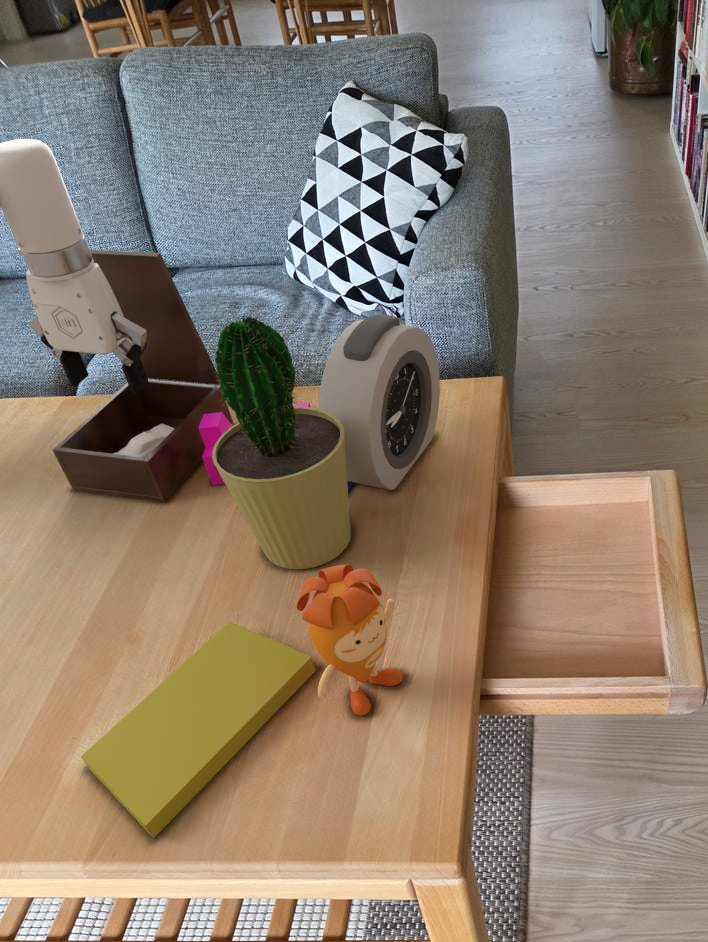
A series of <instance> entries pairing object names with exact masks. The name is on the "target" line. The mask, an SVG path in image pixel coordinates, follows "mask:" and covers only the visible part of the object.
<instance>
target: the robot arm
mask: <svg viewBox="0 0 708 942" xmlns="http://www.w3.org/2000/svg"><path fill="white" fill-rule="evenodd" d="M0 208H1V209H2V212H3V214H4V216H5V218H6V221H7V223H8V226H9V228H10V230H11V233H12V234H13V237H14V239H15V241H16V244H17V252H18V254H19V255H20V257H22V258H23V260H24V262H25V265H26V267H27V270H26V272H25V277H26V283H27V287H28V292H29V295H30V298H31V301H32V305H33V308H34V310H35V313H36V317H35V318H33V319H32V320H30V321H29V326H30V327H31V329H32V330H33V331H34V332H35V333H36V335H37V336H38V337H40V341H41V342H42V343H43V345H45V346H46V347H48V348H49V349H50V350H51V352H52V353H51V354H52V355H53V356H54V357H55V358H56V359H59V362H60V364H61V367H62V369H63V370H64V373H65V375H66V377H67V380H68V382H69V384H70V386H71V387H77V386H78V385H79V384H80V383H82V382H83V381H84V380H85V379H86V378H88V377H89V372H88V369H87V367H86V364H85V362H84V360H83V357H82V355H81V353H82V354H93V355H104V356H105V355H110V354H113V355H115V357H116V358H117V359H119V360H120V362H121V361H122V362H123V363H124V365H123V364H122V366H121V370H122V372H123V375H124V377H125V380H126V383H128V385H129V388H130V390H131V392H132V393H138V392H139V391H140V390H141V389H142V388H144V387H145V386H146V385H147V384H148V379H149V378H147V376H146V373H145V370H144V368H143V365H142V362H141V359H140V357H141V356H142V355H143V352H144V350H145V349H146V339H147V331H146V330H145V329H144V328H142V327H141V326H139V325H137V324H135V323H133V322H132V321H130V320H128V319H126V318H125V317H124V315H123V313H122V310H121V308H120V306H119V303H118V301H117V299H116V297H115V295H114V293H113V291H112V289H111V287H110V285H109V283H108V281H107V279H106V277H105V275H104V274H103V272H102V270H101V269H100V267H99V265H98V264H96V263H94V260H93V257H92V255H91V252H90V250H91V249H90V247H89V244H88V242H87V239H86V237H85V234H84V232H83V228H82V226H81V223H80V221H79V218H78V215H77V212H76V210H75V208H74V204H73V202H72V199H71V197H70V194H69V191H68V189H67V185H66V183H65V181H64V179H63V176H62V173H61V171H60V168H59V165H58V162H57V159H56V158H55V156H54V153H53V150H52V149H51V148H50V147H49V146H48V145H47V144H46V143H45V142H43V141H41V140H39V139H34V138H19V139H12V140H7V141H4V142H0ZM129 336H131V338H132V341H131V340H130V339H129ZM116 340H117V341H116ZM121 345H123V346H125V347H126V348H127V349H128V350H129V351H128V353H126V352H125V351H124V350H123V349H122V348H121V347H119V346H121ZM122 362H121V363H122Z"/></svg>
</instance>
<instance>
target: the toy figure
mask: <svg viewBox="0 0 708 942" xmlns="http://www.w3.org/2000/svg"><path fill="white" fill-rule="evenodd" d="M366 583H367V584H368V585H369V586H368V585H367V584H366ZM314 591H315V592H314ZM311 592H314V594H313V596H312V599H311V601H310V602H309V599H310V596H311ZM382 595H383V590H382V588H381V586H380V585H379V583H378V581H377V580H376V578H375V577H374V576H373V574H372V573H371V572H370V571H369V570H368V569H366V568H364V567H363V568H362V567H361V568H357V569H354V567H353V566H352V565H351V564H340V565H339V564H338V565H333V566H329V567H326V568H325V567H324V568H322V569H320V570H319V571H318V576H317V577H316V576H313V577H308V578H306V579H305V581H304V582H303V584H302V586H301V589H300V591H299V593H298V597H297V600H296V605H295V606H296V609H297V611H299V612H303V613H302V616H301V618H302V620H303V621H304V622H306V623H307V624H308V631H309V636H310V639H311V642H312V644H313V646H314V648H315V649H316V651H317V653H318V655H319V656H320V657H321V658H322V659H323V661H324V662H325V663H327V666H326V668H325V669H324V671H323V673H322V675H321V676H320V679H319V682H318V686H317V696H318V697H319V698H321V699H323V698H325V697H326V696H327V687H328V683H329V680H330V677H331V676H332V673H333V672H334V671H335V670H337V671H339V672H341V673H343V674H345V675H347V676H348V682H349V688H350V689H349V690H350V692H349V696H350V698H349V699H350V707H351V710H352V712H353V713H354V715H357V716H360V717H361V716H365V715H367V714H368V713H370V711H371V709H372V706H371V701H370V700H369V698H368V697H367V695H366V694H365V693H364V692H363V690H362V689H361V688H360V686H359V683H360V684H365V683H366V682H367V681H369V683H371V684H373V685H380V686H388V687H391V686H392V687H393V686H397V685H399V684H400V683H402V682H403V679H404V674H403V673H402V671H401V670H400V669H398V668H395V667H387V668H384V669H381V670H378V668H377V665H376V664H377V662H378V661H379V659H380V658H381V656H382V654H383V652H384V649H385V646H386V641H387V633H388V630H387V622H388V620H389V619H390V617H391V616H392V614H393V611H394V609H395V604H396V603H395V602H396V601H395V599H394V598H388V599H387V600H386V605H385V608H383V605H382V602H381V601H380V599H379V598H378V597H381V596H382ZM308 602H309V603H308ZM358 682H359V683H358Z"/></svg>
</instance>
